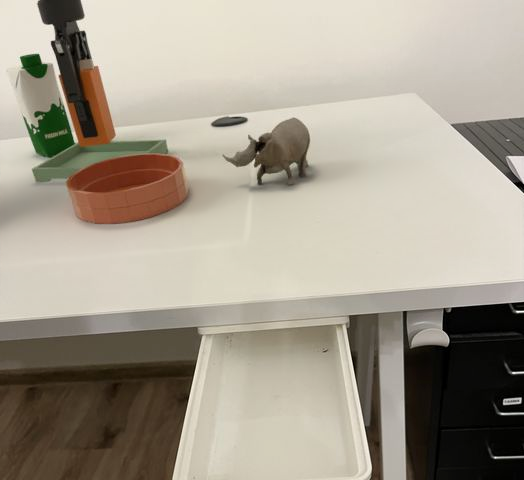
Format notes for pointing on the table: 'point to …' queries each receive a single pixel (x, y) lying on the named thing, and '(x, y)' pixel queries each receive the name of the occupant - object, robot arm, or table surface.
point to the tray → (93, 157)
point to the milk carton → (41, 105)
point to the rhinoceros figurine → (277, 150)
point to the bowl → (128, 188)
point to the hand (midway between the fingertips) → (95, 132)
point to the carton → (92, 106)
